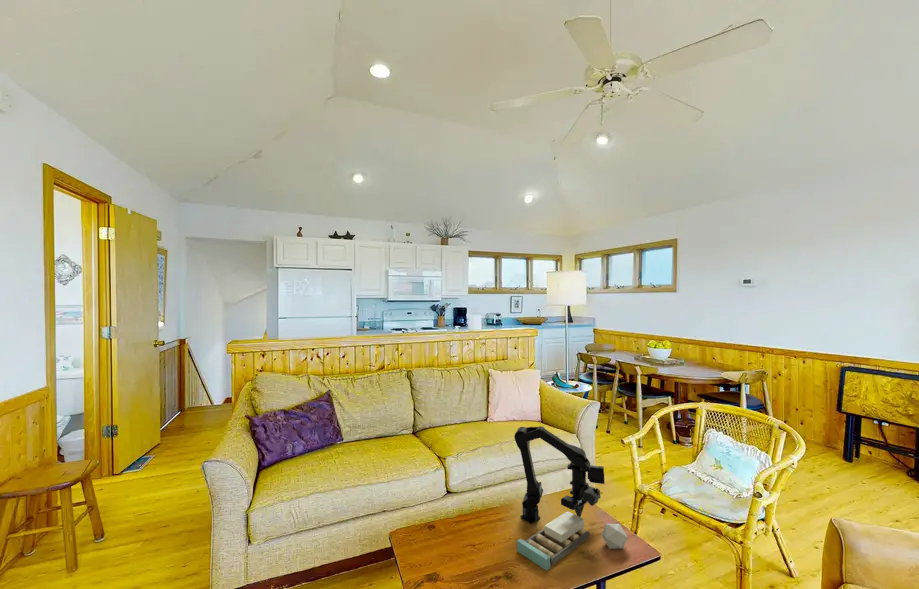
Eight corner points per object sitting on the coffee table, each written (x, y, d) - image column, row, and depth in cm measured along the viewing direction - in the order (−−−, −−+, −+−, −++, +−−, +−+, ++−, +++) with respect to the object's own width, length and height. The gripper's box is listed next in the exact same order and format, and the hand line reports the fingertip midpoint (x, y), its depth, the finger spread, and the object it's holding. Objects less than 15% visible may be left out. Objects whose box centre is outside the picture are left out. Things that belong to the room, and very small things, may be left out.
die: (624, 558, 144) (634, 532, 147) (602, 544, 146) (612, 518, 149) (615, 553, 152) (625, 528, 155) (595, 539, 154) (604, 515, 157)
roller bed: (524, 547, 150) (524, 539, 150) (561, 522, 166) (561, 515, 166) (552, 565, 140) (552, 557, 140) (589, 537, 156) (589, 530, 156)
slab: (544, 533, 154) (544, 525, 154) (567, 518, 164) (567, 511, 165) (561, 542, 148) (561, 534, 148) (584, 526, 158) (584, 519, 158)
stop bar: (517, 551, 148) (517, 540, 148) (520, 548, 149) (520, 538, 149) (546, 570, 137) (546, 559, 137) (550, 568, 138) (550, 557, 138)
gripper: (583, 494, 151) (584, 534, 151) (607, 480, 163) (608, 516, 163) (559, 484, 160) (560, 521, 159) (584, 471, 172) (584, 505, 172)
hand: (579, 516), depth 163 cm, fingers closed
